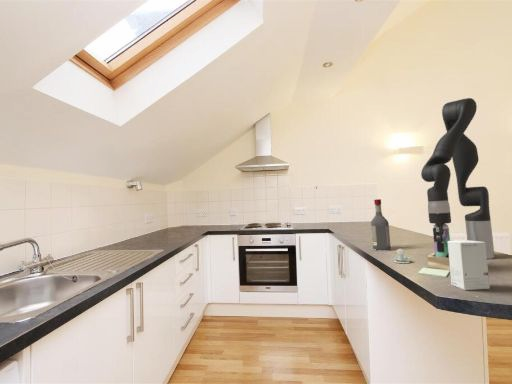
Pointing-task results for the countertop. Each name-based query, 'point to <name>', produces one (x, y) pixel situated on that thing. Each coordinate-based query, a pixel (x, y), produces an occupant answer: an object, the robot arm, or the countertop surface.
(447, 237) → the spray can
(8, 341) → the countertop surface
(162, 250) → the countertop surface
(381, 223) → the liquor
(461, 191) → the robot arm
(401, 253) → the pacifier
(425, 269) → the mat
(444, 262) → the wooden box holder
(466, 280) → the skincare box
